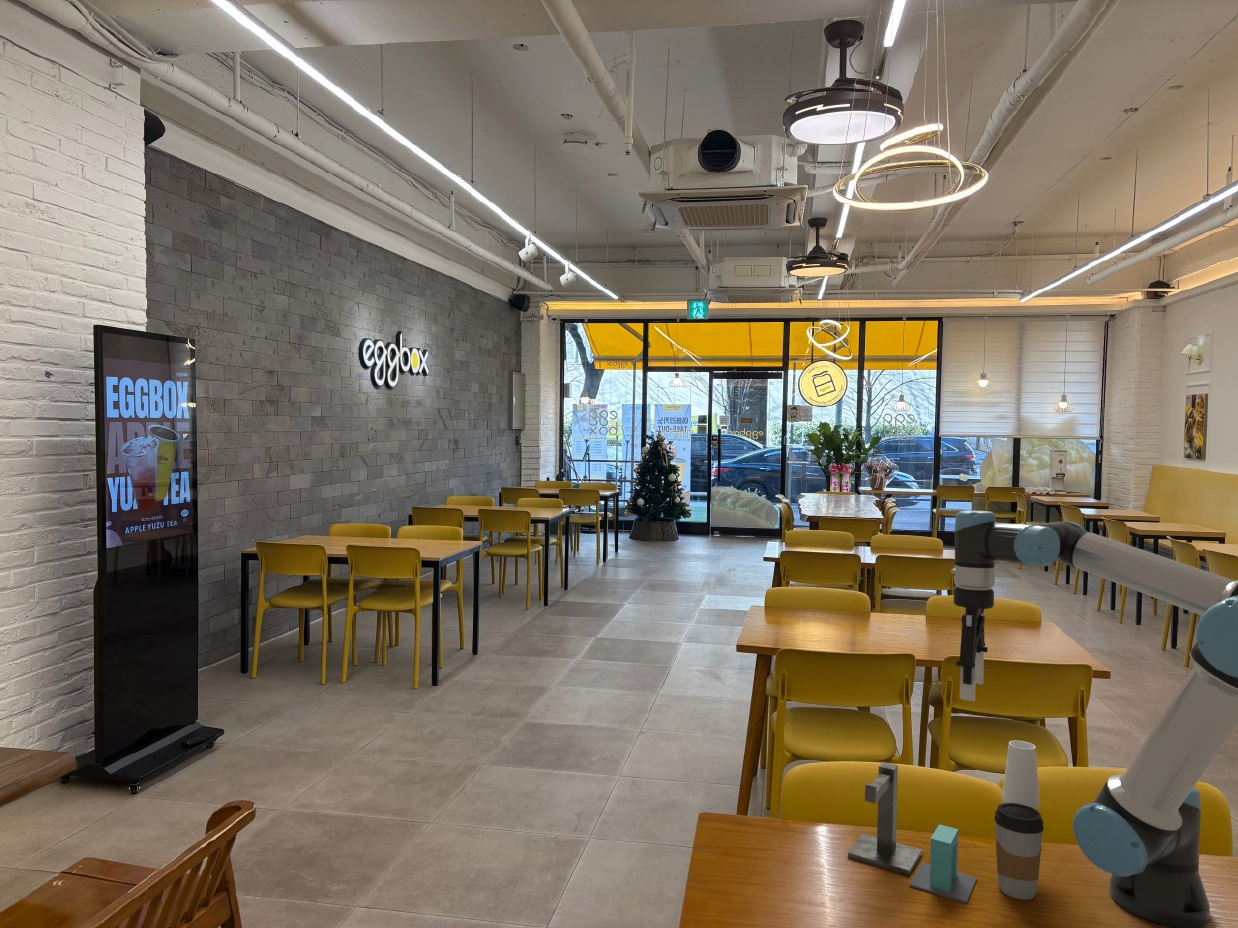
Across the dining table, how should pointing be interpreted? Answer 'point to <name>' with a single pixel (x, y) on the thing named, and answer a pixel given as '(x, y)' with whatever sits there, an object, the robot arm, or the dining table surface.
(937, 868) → the u-shaped block
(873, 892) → the dining table surface
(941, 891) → the mat
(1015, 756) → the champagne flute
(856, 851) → the stand
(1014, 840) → the coffee cup
